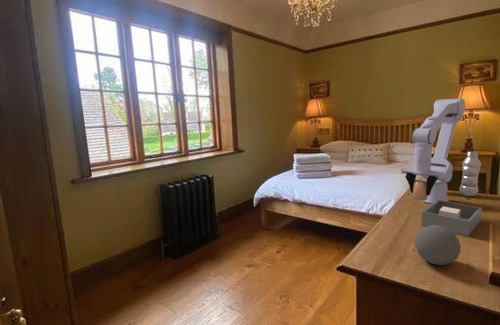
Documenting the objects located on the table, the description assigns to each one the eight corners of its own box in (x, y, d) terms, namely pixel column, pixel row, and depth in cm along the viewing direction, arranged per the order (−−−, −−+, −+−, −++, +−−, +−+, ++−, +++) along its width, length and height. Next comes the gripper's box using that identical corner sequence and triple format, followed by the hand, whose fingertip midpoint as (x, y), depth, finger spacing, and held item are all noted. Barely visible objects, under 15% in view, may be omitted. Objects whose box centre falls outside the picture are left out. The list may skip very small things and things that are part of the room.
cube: (442, 219, 101) (443, 206, 100) (459, 223, 98) (460, 209, 97) (437, 224, 98) (439, 210, 97) (455, 227, 94) (456, 213, 94)
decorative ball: (468, 269, 72) (472, 232, 70) (435, 275, 70) (438, 237, 68) (435, 250, 81) (438, 217, 80) (405, 255, 79) (407, 222, 78)
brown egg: (415, 195, 116) (416, 179, 115) (429, 198, 112) (430, 181, 111) (410, 198, 113) (411, 181, 112) (424, 201, 109) (425, 183, 108)
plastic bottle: (460, 192, 133) (464, 150, 129) (478, 195, 128) (483, 151, 124) (457, 196, 128) (461, 152, 125) (476, 199, 123) (481, 153, 120)
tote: (437, 212, 110) (438, 199, 109) (480, 221, 100) (481, 207, 99) (421, 225, 99) (422, 211, 98) (467, 236, 89) (469, 221, 88)
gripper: (398, 159, 113) (396, 192, 115) (440, 163, 102) (438, 199, 104) (405, 156, 117) (403, 188, 120) (446, 160, 106) (444, 195, 109)
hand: (420, 193), depth 112 cm, fingers closed on brown egg, 5 cm apart
